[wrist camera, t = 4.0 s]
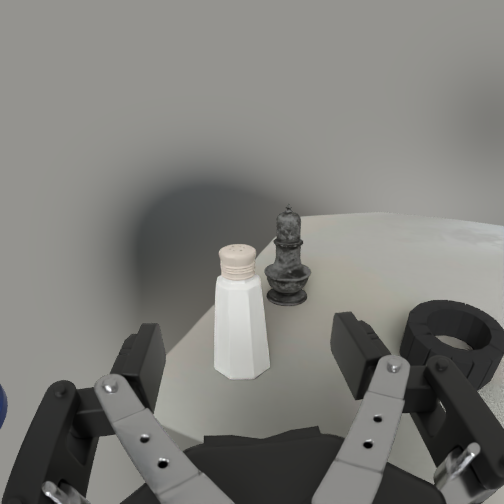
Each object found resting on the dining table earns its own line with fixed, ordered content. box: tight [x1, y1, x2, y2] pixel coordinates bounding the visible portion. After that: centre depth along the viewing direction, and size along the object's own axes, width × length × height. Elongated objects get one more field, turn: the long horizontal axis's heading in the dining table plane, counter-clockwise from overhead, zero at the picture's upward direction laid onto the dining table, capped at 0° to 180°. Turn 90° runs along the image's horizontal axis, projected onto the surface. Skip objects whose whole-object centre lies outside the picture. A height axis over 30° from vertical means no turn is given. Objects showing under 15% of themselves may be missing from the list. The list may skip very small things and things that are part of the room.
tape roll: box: [400, 300, 504, 391], centre depth 23 cm, size 12×12×4 cm
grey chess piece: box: [264, 204, 311, 306], centre depth 36 cm, size 6×6×12 cm
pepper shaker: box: [214, 244, 270, 380], centre depth 24 cm, size 5×5×11 cm
